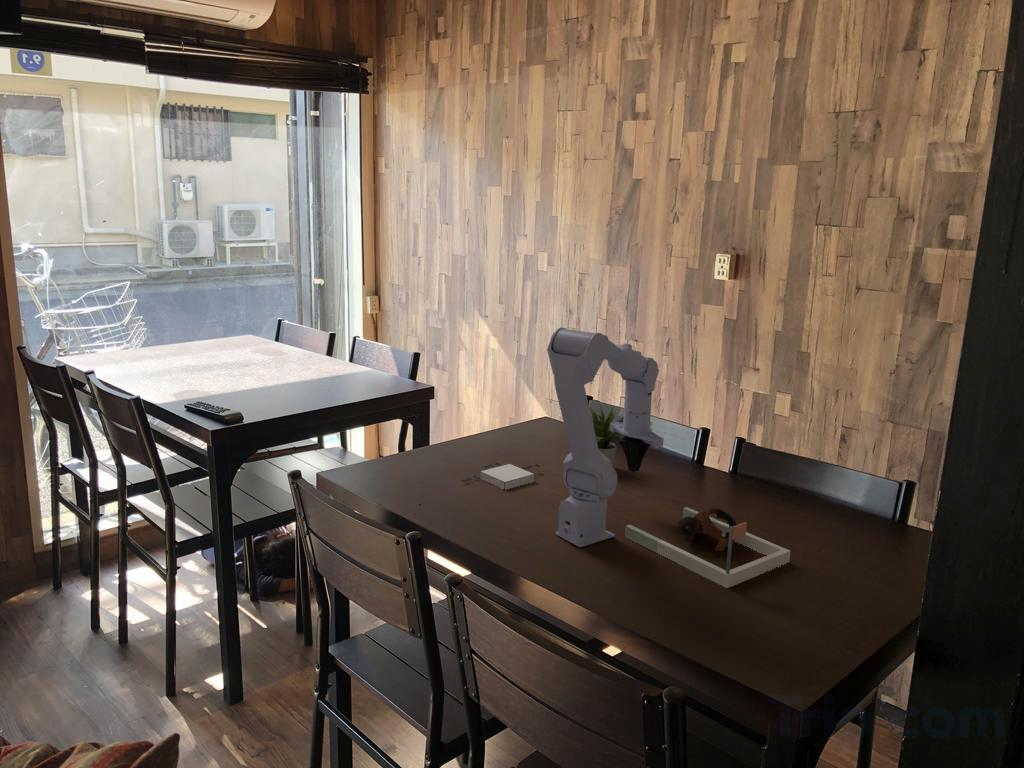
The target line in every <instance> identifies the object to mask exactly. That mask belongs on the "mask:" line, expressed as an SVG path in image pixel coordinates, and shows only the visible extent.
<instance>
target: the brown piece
mask: <svg viewBox="0 0 1024 768" xmlns="http://www.w3.org/2000/svg"><path fill="white" fill-rule="evenodd" d="M699 512H700V513H698V514H696V515H695V516H694V517H693V518H692V517H684V518H683V517H682V518H680V520H679V521H678V523H677V530H678V531H679V533H680V534H681V535H682V536H683V537H685V538H686V539H687V541H688V542H691V543H692V542H693V540H694V537H695V535H696V534H703V533H704V532H705V531H706V533H708V534H710V535H711V536H712V537H713V538H714V539H716V540H717V544H716V546H715V547H714V550H715V551H716V552H718V551H722V552H723V551H724V550H725V548H728V545H729V534H730V532H727V533H726V535H725V537H724V536H721V534H722V530H720V529H719V528H717V527H716V526H715V525H714V524H713V523H712V521H711V520H710V517H711V516H710V515H712V514H715V515H716V516H715V518H716V519H721V520H724V521H727V523H728V525H729V528H730V526H736V525H738V523H737V521H736V520H735V519H734V517H733V516H732V515H731V514H729V513H728V512H727V511H725V510H723V509H721V508H718V507H709V508H707V509H706V510H702V511H699ZM701 523H702V524H701ZM686 527H687V528H686ZM686 539H685V540H686ZM734 541H735V539H733V540H732V544H734V543H735V542H734Z"/></svg>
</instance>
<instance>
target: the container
mask: <svg viewBox="0 0 1024 768" xmlns="http://www.w3.org/2000/svg"><path fill="white" fill-rule="evenodd" d="M494 464H495V466H496V467H494ZM494 464H492V463H491V464H487V465H483V466H482V468H483V469H484V470H480V471H479V477H478V475H474V476H473V478H475V479H476V480H481V479H482V480H481V481H483V480H484V481H483V482H485V481H486V482H485V483H487V482H488V483H487V484H489V483H491V484H490V485H492V484H493V485H492V486H494V485H495V486H494V487H496V486H497V487H496V488H498V487H499V488H498V489H501V490H503V489H504V490H503V491H507V489H508V490H511V489H513V488H514V487H515V488H518V487H521V486H520V485H522V486H525V485H528V483H529V484H533V483H535V482H536V481H535V480H536V478H535V477H536V474H535V473H533V472H531V471H528V470H529V469H533V467H537V468H539V467H541V465H540V464H538V463H534V465H528V466H524V467H519V466H516V465H514V464H511V463H507V464H503V465H502V464H501V463H499V462H495V463H494ZM473 478H472V477H467V478H463V479H460V481H461V482H465V483H466V482H469V481H472V479H473ZM524 484H525V485H524ZM517 486H518V487H517ZM510 488H511V489H510Z"/></svg>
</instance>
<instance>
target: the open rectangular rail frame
mask: <svg viewBox="0 0 1024 768" xmlns="http://www.w3.org/2000/svg"><path fill="white" fill-rule="evenodd" d="M700 512H701V511H697V510H694V509H692V508H690V507H687V506H686V507H684V508H682V518H684V517H692V518H693V517H694V516H695V515H696V514H698V513H700ZM709 517H710V520H711V521H712V523H713V524H714V525H715V526H716V527H717V528H719V529H720V530H722V534H721V535H722V536H724V537H725V535H726V533H727V532H730V534H729V545H728V547H727V555H726V556H727V558H726V568H725V569H723V568H721V567H720V566H717V565H715V564H713V563H711V562H709V561H706V560H705V559H702V557H701V558H700V557H699V556H696V555H694V554H693V553H690V552H688V551H686V550H684V549H682V548H680V547H677V546H676V545H673V544H671V543H669V542H667V541H665V540H662V539H661V538H658V537H656V536H655V535H653V534H650V533H649V532H646V531H644V530H642V529H640V528H638V527H636V526H633V525H631V524H627V525H625V530H624V531H625V532H624V538H625V539H627V540H630V541H632V542H634V543H635V544H637V543H638V545H640V546H641V545H642V547H643V546H644V548H645V547H646V549H647V548H648V550H649V549H650V550H649V551H651V550H652V552H653V551H654V553H655V552H656V554H657V553H658V554H657V555H659V554H660V556H661V555H662V556H661V557H663V556H664V558H665V557H666V559H667V558H668V560H669V559H670V560H669V561H671V560H672V562H673V561H674V562H673V563H675V562H676V563H675V564H678V565H680V566H681V567H683V568H685V569H688V570H689V571H691V572H693V573H696V574H697V575H699V576H702V577H704V579H705V578H706V579H707V580H710V581H712V582H713V583H716V584H717V585H719V586H722V587H724V588H726V589H728V588H731V587H734V586H736V585H739V584H741V583H743V582H746V581H748V580H750V579H753V578H756V577H758V576H760V574H761V575H763V574H765V572H766V573H768V572H770V571H773V570H775V569H777V568H776V567H778V568H780V567H782V566H781V565H783V566H785V565H787V564H786V563H788V562H789V563H790V561H791V560H790V559H791V550H789V549H787V548H785V547H782V546H780V545H777V544H775V543H773V542H771V541H768V540H766V539H763V538H761V537H758V536H757V535H754V534H751V533H749V532H748V531H747V525H748V522H746V521H745V522H742V523H738V524H737V525H736V526H730V528H729V524H727V523H726V522H723V521H721V520H718V519H717V518H714V517H711V516H709ZM701 524H702V523H701ZM733 539H735V542H734V543H736V542H738V543H740V544H743V545H744V546H743V545H742V546H743V547H745V546H747V547H749V548H751V549H750V550H752V549H753V550H752V551H754V550H755V551H754V552H756V551H757V552H756V553H759V554H761V553H762V554H761V555H763V554H764V555H763V557H760V558H757V559H755V560H752V561H750V562H748V563H745V564H743V565H740V566H736V567H735V568H731V558H732V549H733V543H732V540H733ZM738 543H737V544H738ZM740 544H739V545H740ZM747 547H746V548H747ZM749 548H748V549H749ZM765 555H767V556H765ZM789 563H788V564H789ZM784 564H785V565H784ZM779 566H780V567H779ZM730 568H731V569H730ZM774 568H775V569H774ZM772 569H773V570H772ZM767 571H768V572H767Z"/></svg>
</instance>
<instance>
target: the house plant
mask: <svg viewBox="0 0 1024 768" xmlns="http://www.w3.org/2000/svg"><path fill="white" fill-rule="evenodd" d="M599 407H600V415H597V413H596V412H595V411H594V410H593V409H592V408H591V407H589V409H590V414H591V418H592V422H593V427H594V431H595V436H596V440H597V445H598V449H599V451H600V452H601V453H603V454H604V455H605V456H606V457H607V458H609V459H610V460H611V464H612V467H613V466H614V465H613V464H614V461H615V456H616V452H617V448H618V446H617V444H616V443H614V441H615V440H616V439H618V438H619V437H621V438H622V439H623V438H624V436H625V435H623V434H620V433H617V432H611V431H610V423H613V422H614V419H615V414H616V412H617V409H615V410H614V406H612V407H611V410H610V411H609V413H608V415H607V416H606V419H605V415H604V412H603V411H604V410H603V408H602V406H599ZM623 421H624V416H621V418H619V419H618V420H616V421H615V422H619V423H623ZM614 437H615V438H614Z"/></svg>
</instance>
